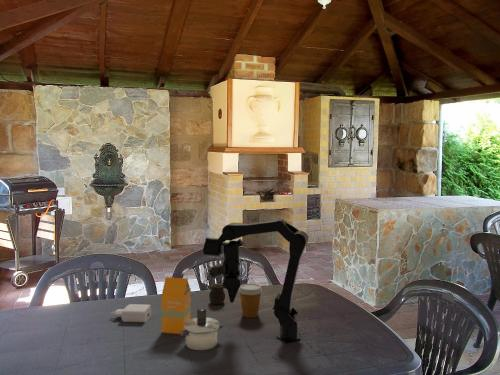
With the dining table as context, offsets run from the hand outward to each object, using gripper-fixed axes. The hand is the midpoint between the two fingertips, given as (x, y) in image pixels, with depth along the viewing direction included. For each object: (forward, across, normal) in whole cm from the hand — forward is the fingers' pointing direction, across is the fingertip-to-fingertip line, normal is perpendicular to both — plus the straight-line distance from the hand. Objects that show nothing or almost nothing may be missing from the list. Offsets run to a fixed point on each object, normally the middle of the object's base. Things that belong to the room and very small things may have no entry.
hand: (231, 298), depth 170 cm
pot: (+13, +10, -11) cm, 19 cm away
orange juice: (+13, -3, -21) cm, 25 cm away
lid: (+7, +10, -11) cm, 16 cm away
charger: (+13, -14, -41) cm, 46 cm away
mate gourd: (+13, -32, -7) cm, 35 cm away
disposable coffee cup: (+13, -17, +8) cm, 23 cm away
